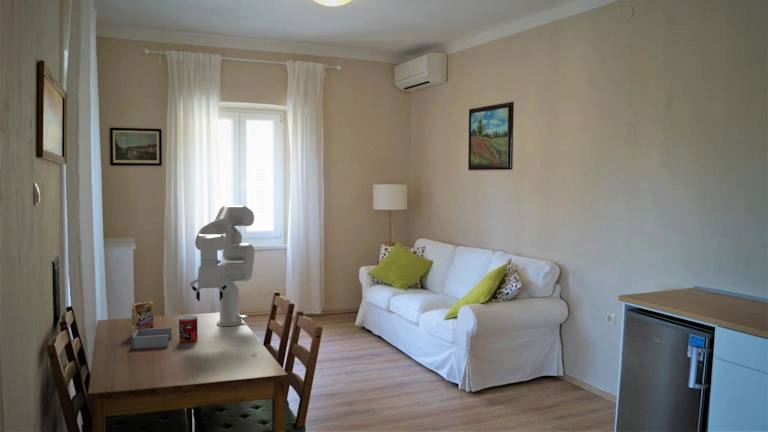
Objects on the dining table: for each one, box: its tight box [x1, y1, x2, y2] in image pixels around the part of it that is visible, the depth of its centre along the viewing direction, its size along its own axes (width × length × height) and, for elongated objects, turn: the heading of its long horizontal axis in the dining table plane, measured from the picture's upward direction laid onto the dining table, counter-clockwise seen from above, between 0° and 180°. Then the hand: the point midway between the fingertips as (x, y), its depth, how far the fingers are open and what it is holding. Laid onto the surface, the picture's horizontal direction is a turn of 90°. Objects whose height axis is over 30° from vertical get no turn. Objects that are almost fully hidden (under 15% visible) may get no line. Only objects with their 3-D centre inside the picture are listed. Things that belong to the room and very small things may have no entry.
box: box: [131, 327, 173, 350], centre depth 265 cm, size 15×15×5 cm
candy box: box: [131, 301, 154, 336], centre depth 281 cm, size 9×4×15 cm, turn 134°
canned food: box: [178, 315, 198, 344], centre depth 269 cm, size 8×8×11 cm
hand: (209, 300), depth 270 cm, fingers open, 9 cm apart
